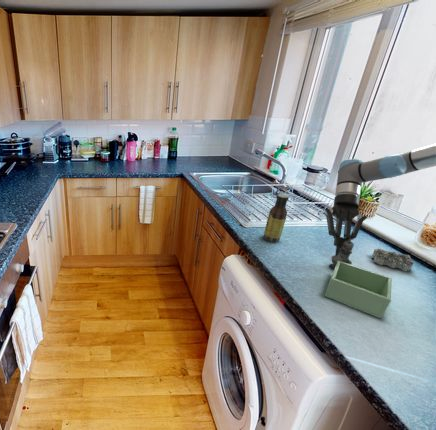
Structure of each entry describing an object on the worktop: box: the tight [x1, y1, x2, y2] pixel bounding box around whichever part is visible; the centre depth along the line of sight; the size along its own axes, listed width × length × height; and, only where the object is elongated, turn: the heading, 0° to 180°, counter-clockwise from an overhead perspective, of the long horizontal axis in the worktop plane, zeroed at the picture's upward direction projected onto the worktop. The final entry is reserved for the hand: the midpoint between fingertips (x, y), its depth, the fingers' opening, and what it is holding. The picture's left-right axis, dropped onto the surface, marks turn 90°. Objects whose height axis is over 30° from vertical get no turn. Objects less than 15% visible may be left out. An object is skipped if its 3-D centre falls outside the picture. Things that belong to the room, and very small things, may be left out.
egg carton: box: [371, 248, 415, 272], centre depth 105 cm, size 11×8×4 cm
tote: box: [323, 261, 393, 319], centre depth 88 cm, size 14×14×7 cm
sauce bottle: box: [263, 193, 289, 243], centre depth 117 cm, size 6×6×20 cm
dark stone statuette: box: [328, 239, 355, 271], centre depth 100 cm, size 6×6×12 cm
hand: (339, 255), depth 104 cm, fingers closed
